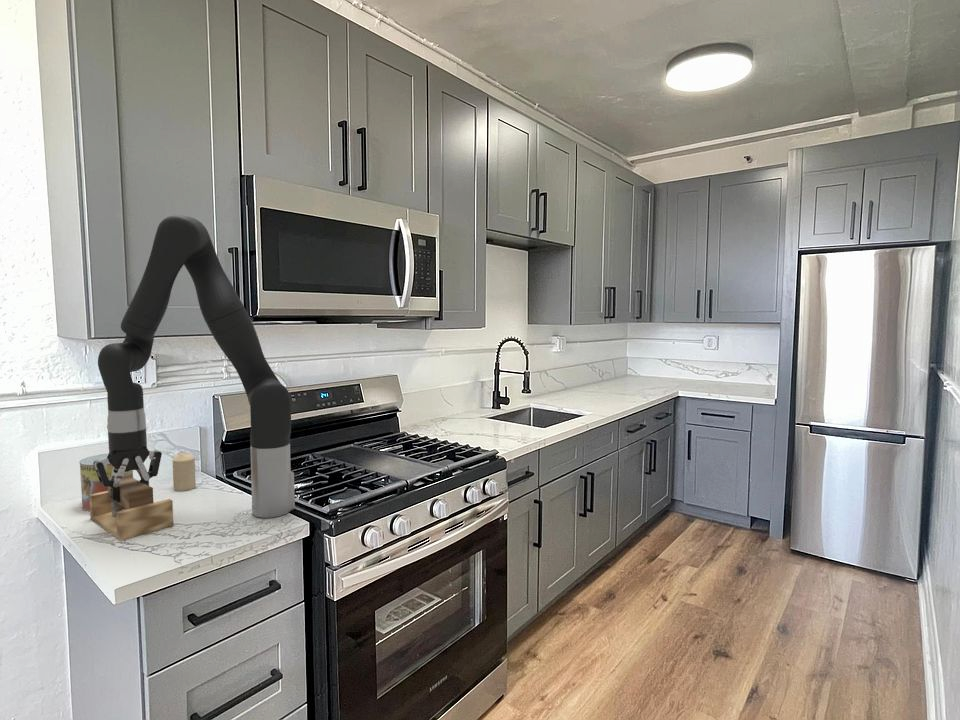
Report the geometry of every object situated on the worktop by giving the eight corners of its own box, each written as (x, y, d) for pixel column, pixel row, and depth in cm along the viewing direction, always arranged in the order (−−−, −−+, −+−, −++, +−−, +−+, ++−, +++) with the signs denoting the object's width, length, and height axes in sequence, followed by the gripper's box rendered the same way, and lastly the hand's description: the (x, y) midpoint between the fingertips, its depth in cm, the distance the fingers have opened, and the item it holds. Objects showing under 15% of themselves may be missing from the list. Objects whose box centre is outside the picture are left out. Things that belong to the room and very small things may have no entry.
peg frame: (141, 506, 139) (140, 483, 139) (173, 525, 128) (172, 500, 127) (90, 519, 131) (89, 494, 130) (120, 540, 119) (118, 513, 118)
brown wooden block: (153, 504, 127) (152, 487, 126) (129, 510, 123) (128, 493, 122) (131, 492, 135) (131, 476, 134) (108, 497, 131) (107, 481, 130)
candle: (189, 491, 151) (188, 456, 150) (169, 491, 151) (168, 456, 150) (199, 485, 157) (198, 451, 156) (180, 484, 157) (178, 450, 156)
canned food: (73, 506, 139) (70, 460, 138) (120, 493, 149) (118, 450, 148) (95, 515, 133) (92, 467, 132) (143, 501, 143) (141, 456, 142)
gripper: (96, 435, 119) (101, 510, 121) (166, 425, 130) (169, 494, 132) (85, 430, 124) (89, 503, 125) (153, 421, 135) (156, 487, 137)
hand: (130, 498), depth 129 cm, fingers closed on brown wooden block, 5 cm apart
